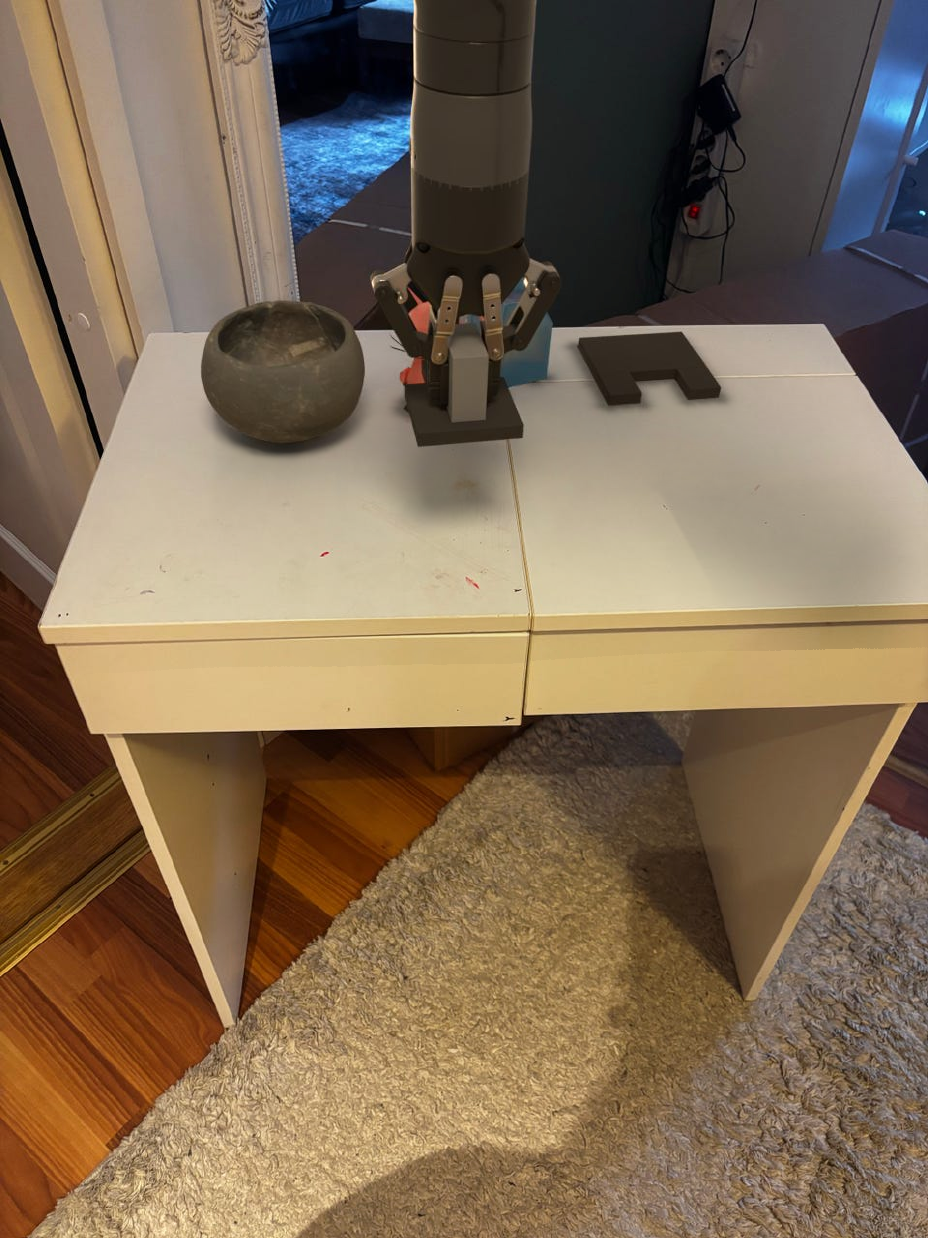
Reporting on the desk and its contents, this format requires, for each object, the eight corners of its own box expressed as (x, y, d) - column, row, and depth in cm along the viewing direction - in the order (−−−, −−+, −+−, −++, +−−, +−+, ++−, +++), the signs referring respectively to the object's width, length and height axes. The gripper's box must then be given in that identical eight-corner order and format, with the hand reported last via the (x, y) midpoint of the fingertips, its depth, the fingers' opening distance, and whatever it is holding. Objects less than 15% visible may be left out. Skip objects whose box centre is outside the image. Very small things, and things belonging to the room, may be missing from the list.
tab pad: (493, 367, 77) (497, 292, 73) (522, 438, 70) (529, 359, 65) (398, 374, 76) (396, 298, 72) (417, 447, 69) (416, 368, 64)
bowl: (207, 394, 94) (189, 300, 87) (353, 379, 97) (348, 287, 90) (217, 480, 84) (198, 382, 77) (380, 460, 87) (376, 364, 80)
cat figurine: (382, 411, 93) (378, 297, 84) (422, 382, 97) (422, 270, 89) (441, 435, 90) (443, 319, 82) (479, 404, 94) (485, 291, 86)
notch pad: (679, 340, 105) (681, 331, 104) (719, 397, 97) (721, 387, 96) (577, 347, 103) (578, 337, 103) (608, 405, 95) (610, 395, 94)
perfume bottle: (518, 351, 102) (527, 242, 94) (546, 378, 99) (558, 267, 90) (468, 362, 100) (473, 252, 92) (495, 390, 96) (502, 278, 88)
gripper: (366, 185, 55) (377, 434, 67) (593, 176, 57) (564, 419, 69) (353, 142, 60) (366, 381, 72) (562, 135, 62) (540, 368, 74)
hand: (463, 398), depth 71 cm, fingers closed on tab pad, 2 cm apart
